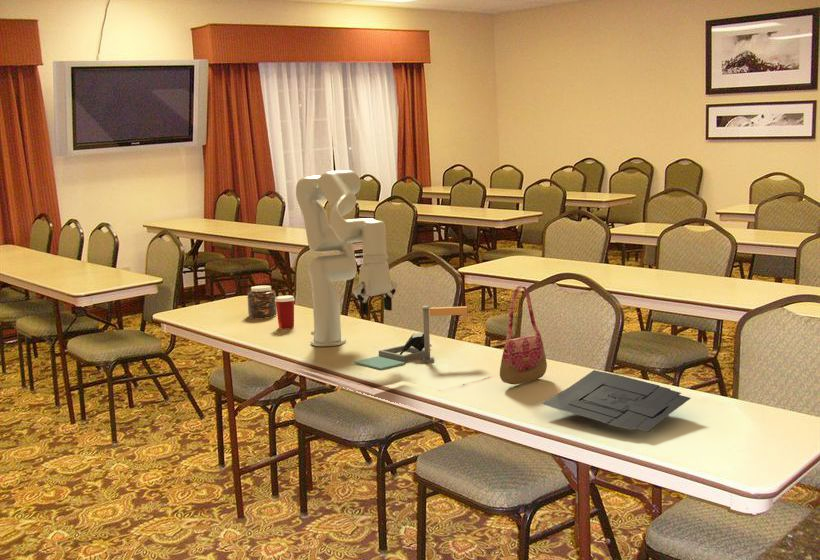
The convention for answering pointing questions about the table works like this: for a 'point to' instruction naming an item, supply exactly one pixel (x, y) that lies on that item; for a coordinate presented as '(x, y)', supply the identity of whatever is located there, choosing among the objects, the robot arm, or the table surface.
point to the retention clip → (448, 311)
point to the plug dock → (416, 353)
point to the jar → (261, 302)
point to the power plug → (415, 342)
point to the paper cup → (285, 311)
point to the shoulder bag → (522, 351)
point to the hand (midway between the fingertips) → (376, 312)
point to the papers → (618, 400)
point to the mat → (379, 363)
